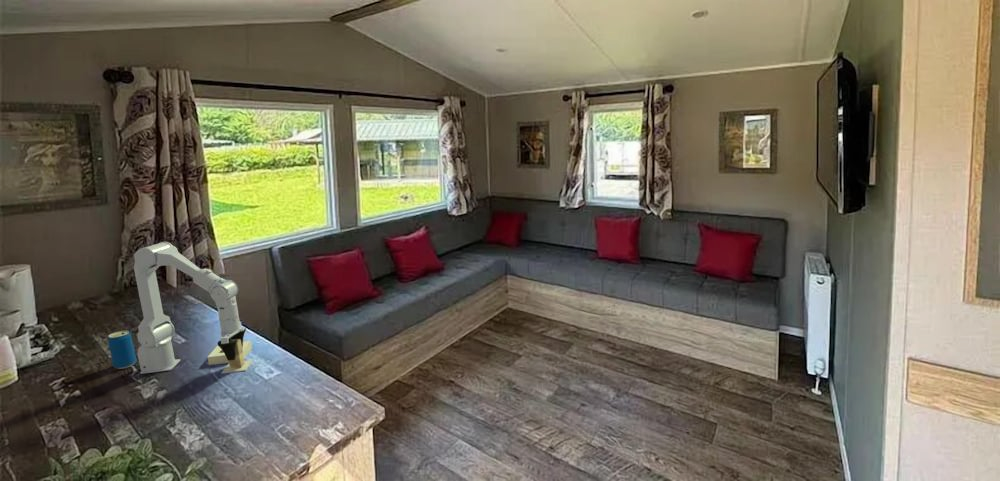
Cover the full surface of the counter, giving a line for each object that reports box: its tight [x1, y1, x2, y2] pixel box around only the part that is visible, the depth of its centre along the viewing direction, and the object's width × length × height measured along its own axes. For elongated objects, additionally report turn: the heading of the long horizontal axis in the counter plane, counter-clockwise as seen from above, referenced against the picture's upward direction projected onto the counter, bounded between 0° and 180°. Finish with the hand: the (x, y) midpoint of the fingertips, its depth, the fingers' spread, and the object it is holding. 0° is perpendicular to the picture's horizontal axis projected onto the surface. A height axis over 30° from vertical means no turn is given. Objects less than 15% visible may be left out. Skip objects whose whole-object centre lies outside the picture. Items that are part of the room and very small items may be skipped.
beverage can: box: [107, 330, 138, 370], centre depth 169 cm, size 6×6×12 cm
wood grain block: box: [229, 339, 245, 369], centre depth 165 cm, size 4×4×9 cm
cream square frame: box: [207, 340, 253, 366], centre depth 174 cm, size 11×11×3 cm
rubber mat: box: [221, 359, 253, 375], centre depth 166 cm, size 8×8×1 cm
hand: (235, 354), depth 165 cm, fingers open, 7 cm apart
